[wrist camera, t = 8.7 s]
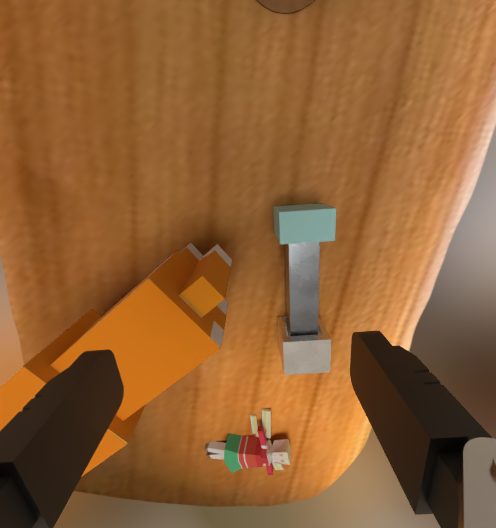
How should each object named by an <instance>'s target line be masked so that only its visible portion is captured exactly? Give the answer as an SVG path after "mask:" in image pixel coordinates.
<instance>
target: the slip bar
mask: <svg viewBox="0 0 496 528" xmlns="http://www.w3.org/2000/svg"><path fill="white" fill-rule="evenodd" d="M319 251H320V242H309V243H294V244H285V277H286V317H287V333H288V336H303V335H318V306H319Z"/></svg>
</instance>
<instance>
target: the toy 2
mask: <svg viewBox="0 0 496 528" xmlns="http://www.w3.org/2000/svg"><path fill="white" fill-rule="evenodd" d="M250 418H251V425H252V431H253V436H255V437H253V436H239V435H235V434H230V433H229V435H228V438H227V442H226V443H223V442H216V441H215V442H210V443H207V444H206V446H205V451H207V452H208V453H207V455H206V456H207V457H210V458H213V459H224V462H225V464H226V465H227V467H228V468H229V469H230V471H231V472H234V471H237V470H239V469H242V468H253V467H262V466H266V468H267V472H268V475H273V466H274V468H275V470H284V466H283V464H289V465H290V460H291V449H290V445H289V439H283V440H274V442H273V445H272V443H271V441H270V439H268V440H266V438H271V409H266V408H262V426H258V423H257V417H256V415H250ZM272 463H273V466H272Z"/></svg>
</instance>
